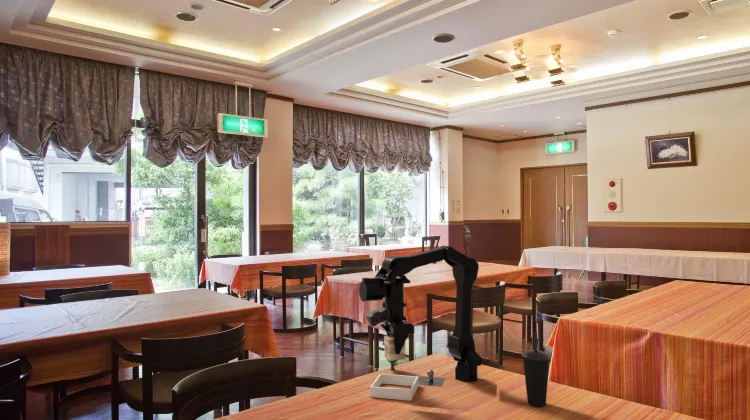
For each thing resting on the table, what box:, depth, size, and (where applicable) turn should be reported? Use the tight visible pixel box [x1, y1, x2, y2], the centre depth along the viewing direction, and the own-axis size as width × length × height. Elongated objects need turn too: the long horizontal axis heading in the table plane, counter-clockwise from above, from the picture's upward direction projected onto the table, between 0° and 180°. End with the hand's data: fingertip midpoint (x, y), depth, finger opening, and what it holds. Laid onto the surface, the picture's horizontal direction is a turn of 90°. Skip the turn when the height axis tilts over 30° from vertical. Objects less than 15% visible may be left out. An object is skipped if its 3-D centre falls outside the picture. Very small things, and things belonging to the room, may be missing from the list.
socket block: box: [383, 335, 406, 362], centre depth 141 cm, size 5×5×6 cm
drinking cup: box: [521, 331, 552, 408], centre depth 134 cm, size 8×8×20 cm
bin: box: [369, 373, 420, 401], centre depth 141 cm, size 12×12×4 cm
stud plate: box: [418, 369, 446, 388], centre depth 149 cm, size 8×8×5 cm
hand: (394, 351), depth 141 cm, fingers closed on socket block, 5 cm apart
